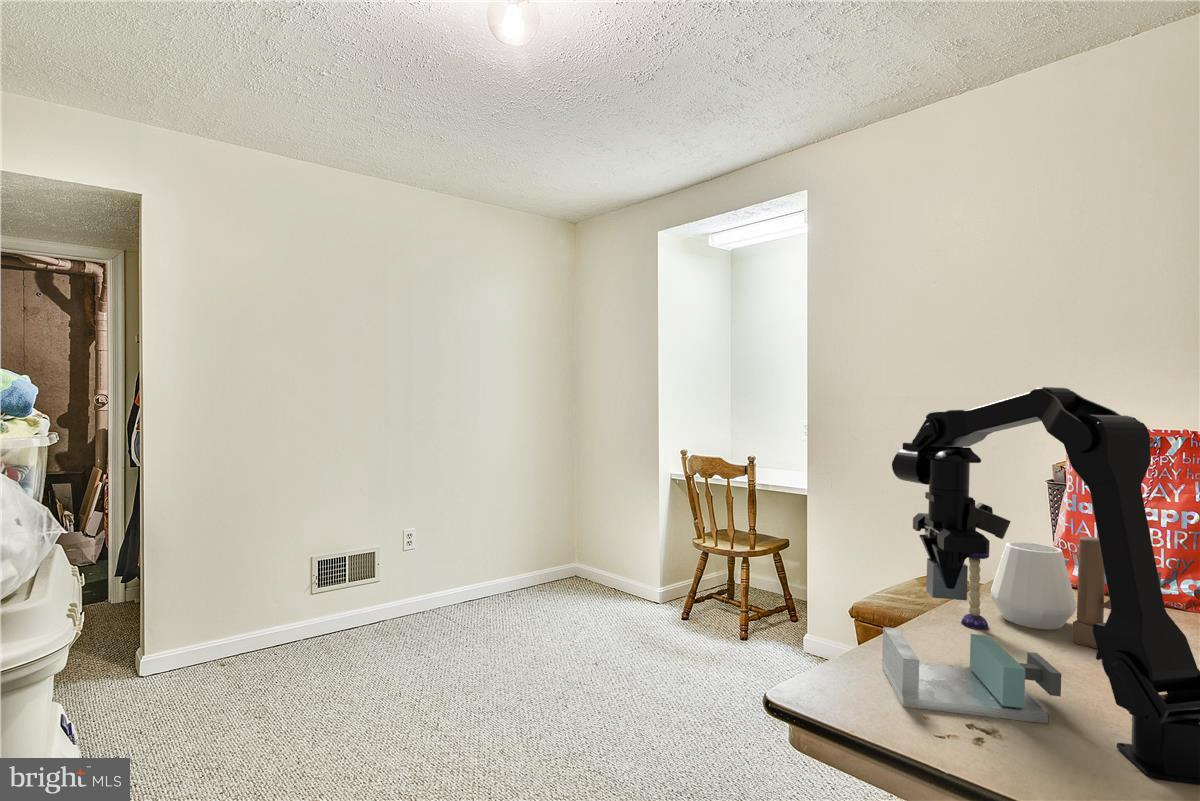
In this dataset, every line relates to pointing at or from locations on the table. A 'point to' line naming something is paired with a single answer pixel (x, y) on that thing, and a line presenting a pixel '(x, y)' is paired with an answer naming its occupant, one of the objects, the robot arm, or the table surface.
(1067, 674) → the table surface
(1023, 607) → the white faceted vase
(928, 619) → the table surface
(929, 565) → the steel block
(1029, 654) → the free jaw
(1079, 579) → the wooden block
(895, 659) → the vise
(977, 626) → the toy lamp
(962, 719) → the table surface
